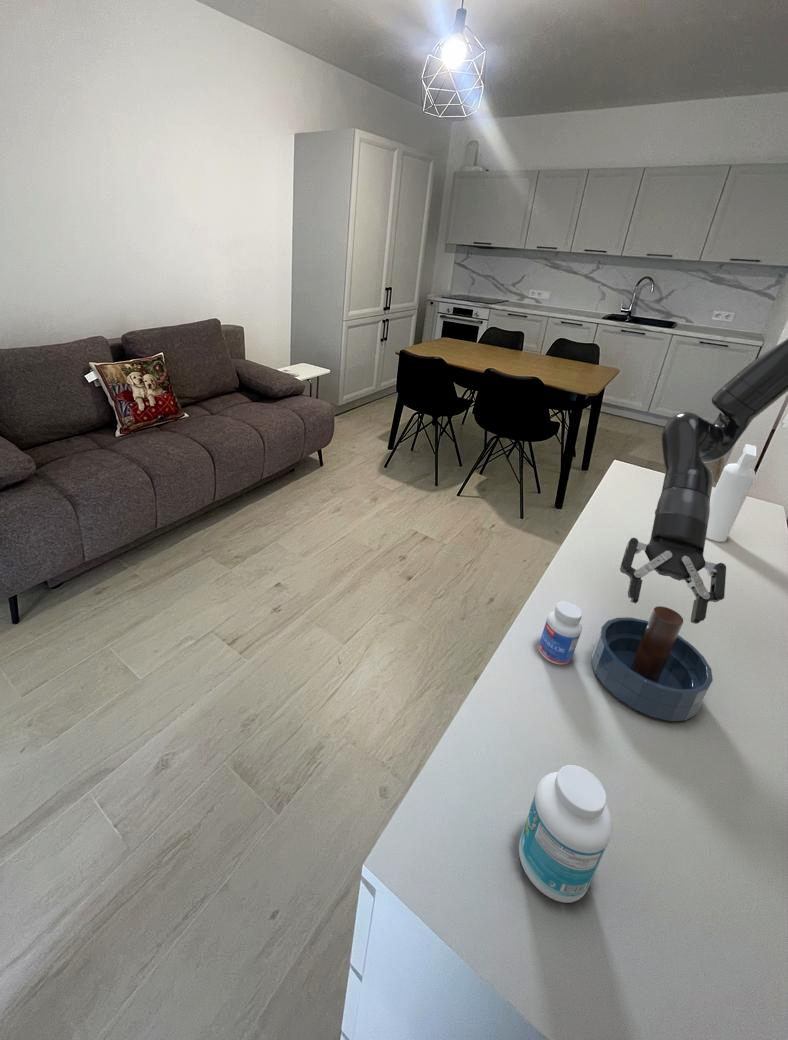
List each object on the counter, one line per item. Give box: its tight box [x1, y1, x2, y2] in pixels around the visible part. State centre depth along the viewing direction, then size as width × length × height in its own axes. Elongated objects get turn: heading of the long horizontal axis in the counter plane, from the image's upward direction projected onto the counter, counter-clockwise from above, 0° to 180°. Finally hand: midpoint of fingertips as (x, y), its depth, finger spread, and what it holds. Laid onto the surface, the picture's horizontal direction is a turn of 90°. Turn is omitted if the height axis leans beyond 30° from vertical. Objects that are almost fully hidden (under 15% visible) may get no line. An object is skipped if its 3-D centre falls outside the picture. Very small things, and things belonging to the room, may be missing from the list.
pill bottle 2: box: [518, 764, 613, 904], centre depth 53 cm, size 8×7×14 cm
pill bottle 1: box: [538, 600, 583, 666], centre depth 84 cm, size 6×5×10 cm
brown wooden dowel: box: [630, 605, 684, 683], centre depth 78 cm, size 4×4×13 cm
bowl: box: [591, 617, 714, 722], centre depth 80 cm, size 15×15×6 cm
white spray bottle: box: [706, 443, 757, 543], centre depth 123 cm, size 7×12×25 cm, turn 141°
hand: (664, 612), depth 80 cm, fingers open, 8 cm apart
